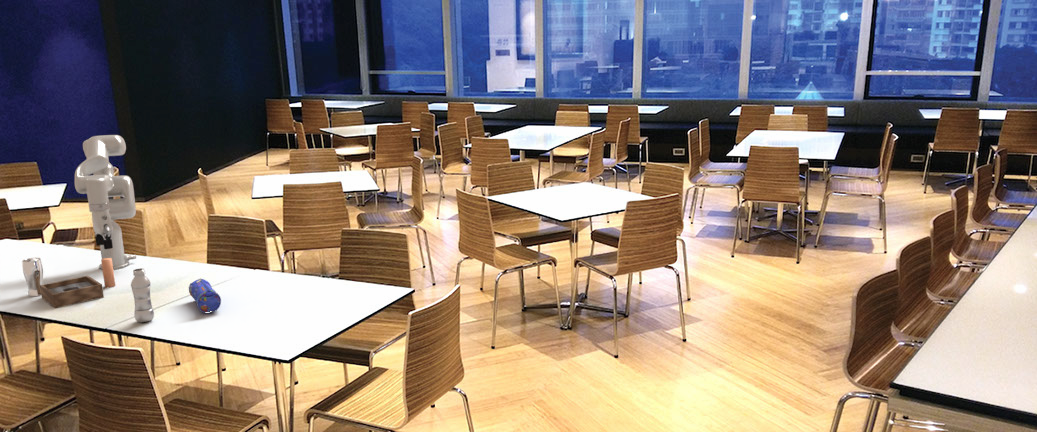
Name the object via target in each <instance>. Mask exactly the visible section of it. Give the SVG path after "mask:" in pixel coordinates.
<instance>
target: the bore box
mask: <svg viewBox="0 0 1037 432" xmlns="http://www.w3.org/2000/svg"><path fill="white" fill-rule="evenodd" d="M40 290H41V297H40V298H41V299H42V300H43V301H45V302H46V303H48V305H50V306H51V307H53V308H54V309H57V308H61V307H66V306H71V305H75V304H79V303H83V302H89V301H94V300H97V299H98V300H99V299H102V298H104V297H105V295H104V288H103V283H100V282H98V281H97V280H95V278H92V277H91V276H89V275H84V276H79V277H74V278H69V279H64V280H59V281H58V280H57V281H55V282H54V281H53V282H49V283H43V285H40Z"/></svg>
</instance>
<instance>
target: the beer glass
mask: <svg viewBox="0 0 1037 432" xmlns="http://www.w3.org/2000/svg"><path fill="white" fill-rule="evenodd" d="M21 263H22V265H21V266H22V273H23V276H24V279H25V282H26V284H27V289H28V292H27V293H28V294H27V295H28V297H31V298H33V297H40V296H41V290H40V285H44V283H43V282H44V269H43V263H42V259H41V257H30V258H24V259H22V261H21Z"/></svg>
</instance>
